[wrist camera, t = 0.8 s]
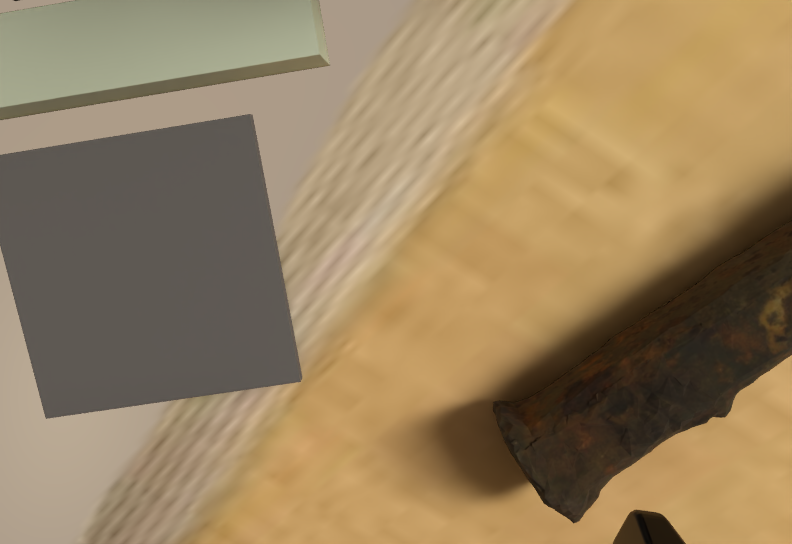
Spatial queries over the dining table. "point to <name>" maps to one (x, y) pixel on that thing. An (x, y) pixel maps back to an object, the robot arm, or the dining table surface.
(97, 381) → the rubber mat
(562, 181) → the dining table surface
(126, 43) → the square socket block
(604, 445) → the hand tool
